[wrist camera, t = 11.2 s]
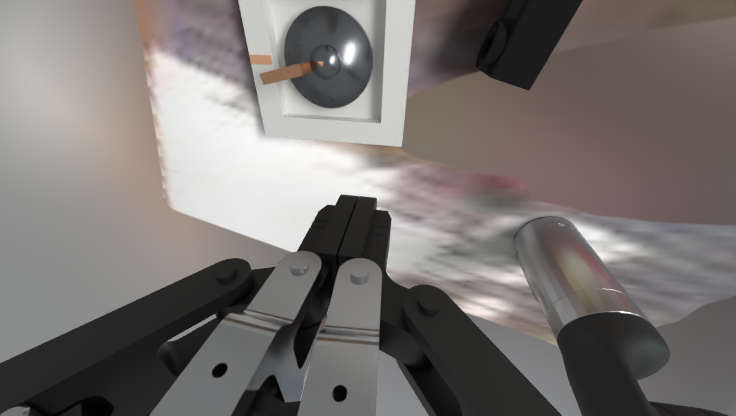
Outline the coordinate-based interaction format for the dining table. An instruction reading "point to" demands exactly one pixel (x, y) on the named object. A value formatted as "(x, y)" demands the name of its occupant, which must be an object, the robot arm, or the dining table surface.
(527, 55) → the digital camera
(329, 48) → the dial
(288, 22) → the panel
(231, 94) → the dining table surface
